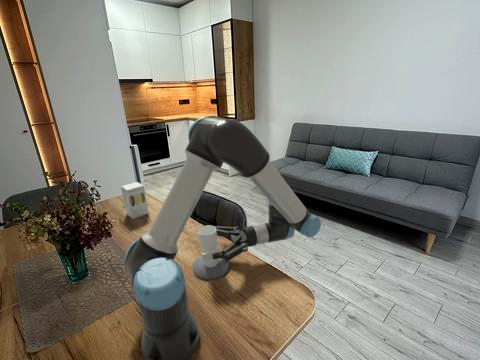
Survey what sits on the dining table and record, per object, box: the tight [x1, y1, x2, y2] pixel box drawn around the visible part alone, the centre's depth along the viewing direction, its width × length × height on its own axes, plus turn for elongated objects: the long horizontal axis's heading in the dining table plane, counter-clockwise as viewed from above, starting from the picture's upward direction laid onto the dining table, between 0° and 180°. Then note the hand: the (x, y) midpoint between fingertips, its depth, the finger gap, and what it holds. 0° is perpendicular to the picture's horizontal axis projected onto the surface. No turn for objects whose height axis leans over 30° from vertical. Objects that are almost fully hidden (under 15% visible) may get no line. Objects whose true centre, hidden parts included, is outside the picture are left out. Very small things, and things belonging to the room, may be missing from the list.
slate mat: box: [192, 255, 230, 280], centre depth 98 cm, size 14×14×1 cm
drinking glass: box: [197, 224, 219, 268], centre depth 95 cm, size 7×7×15 cm
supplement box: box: [120, 181, 149, 220], centre depth 140 cm, size 10×9×17 cm
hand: (200, 246), depth 94 cm, fingers open, 13 cm apart
